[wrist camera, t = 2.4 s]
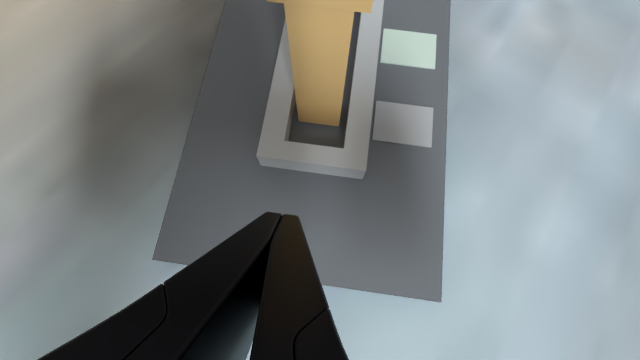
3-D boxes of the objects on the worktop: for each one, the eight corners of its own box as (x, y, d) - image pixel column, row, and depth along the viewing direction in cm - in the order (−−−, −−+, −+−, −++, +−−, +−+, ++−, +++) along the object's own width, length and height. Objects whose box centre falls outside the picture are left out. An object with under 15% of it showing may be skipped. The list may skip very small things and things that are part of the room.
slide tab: (347, 129, 17) (376, -16, 9) (289, 121, 18) (261, -29, 9) (351, 100, 18) (382, -63, 9) (294, 92, 18) (273, -75, 9)
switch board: (432, 300, 16) (452, 304, 14) (163, 260, 17) (136, 257, 14) (444, -8, 22) (460, -45, 20) (243, -31, 23) (234, -69, 20)
